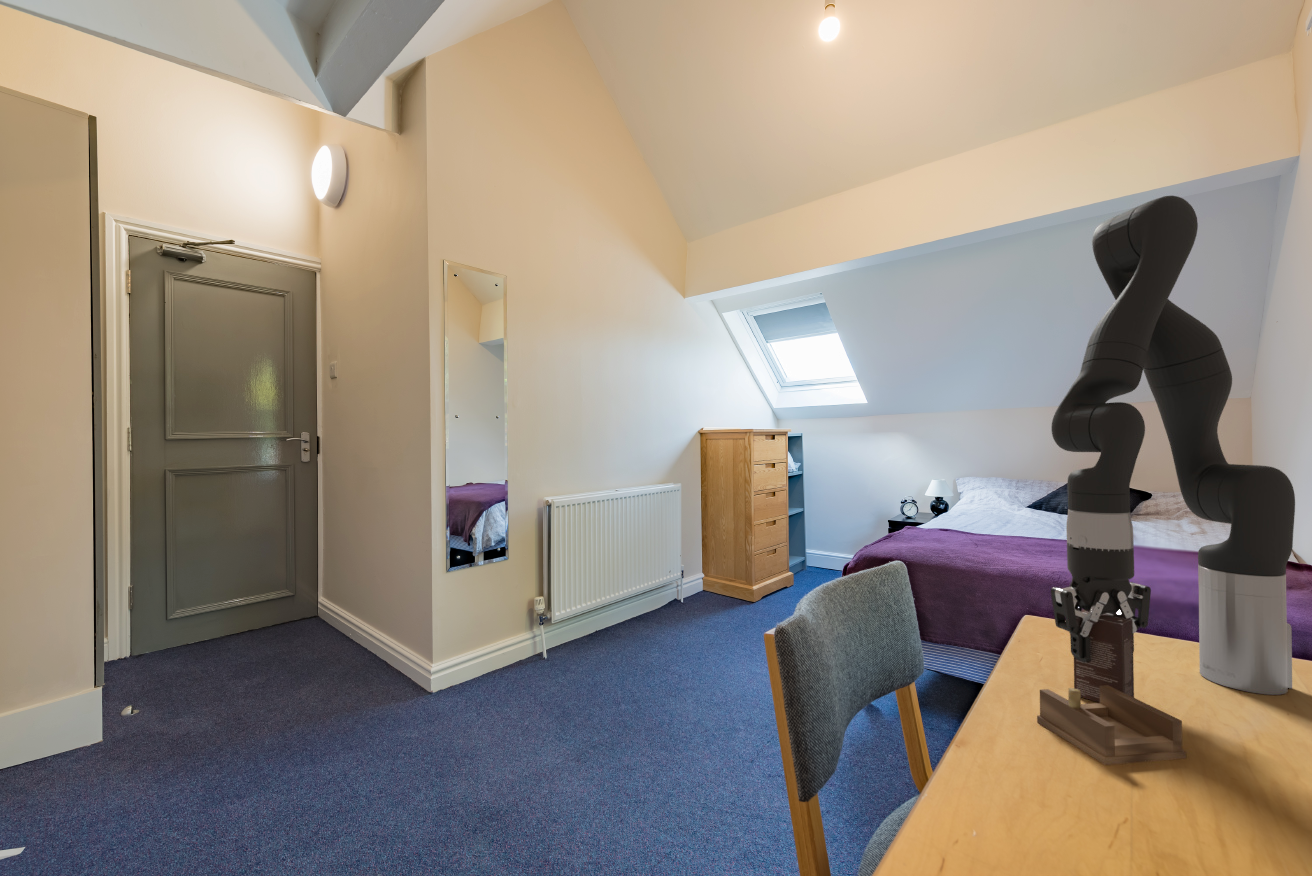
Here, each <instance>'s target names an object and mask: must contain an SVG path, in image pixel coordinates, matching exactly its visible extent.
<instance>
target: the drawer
mask: <svg viewBox="0 0 1312 876" xmlns="http://www.w3.org/2000/svg"><path fill="white" fill-rule="evenodd" d="M1067 691H1068V696H1067V697H1068V699H1067V698H1065V697H1064V696H1062V695H1060V694H1058V693H1056V692H1054V691H1052V690H1050V689H1049V688H1043V689H1039V715H1036V722H1037V724H1039V725H1041V726H1043V727H1044V728H1046V729H1047V730H1049V731H1050V732H1052V733H1054V734H1055V735H1057V736H1058V737H1059V738H1061V739H1063V740H1065V741H1066V742H1067V743H1069V744H1071V745H1072V746H1074V747H1075V748H1077V749H1079V750H1081V751H1083V752H1084V753H1085V754H1087V755H1089V756H1090V757H1092V758H1093V759H1095V760H1097V761H1098V762H1099V763H1101V764H1103V765H1104V766H1108V765H1119V764H1120V765H1121V764H1132V763H1134V764H1135V763H1145V762H1155V761H1170V760H1181V759H1187V751H1186V750H1184V749H1183V721H1182V719H1179V718H1177V717H1175V716H1174V715H1171V714H1169V713H1167V712H1164V711H1162V710H1160V709H1158V708H1156V707H1154V706H1152V705H1150V704H1148V703H1145V702H1144V701H1141V700H1139V699H1138V698H1135V697H1134V698H1133V697H1131V696H1129V695H1127V694H1125V693H1123V692H1121V691H1119V690H1117V689H1114V688H1112V687H1110V686H1108V685H1104V686H1100V703H1099V702H1095V703H1094V702H1093V703H1082V704H1081V702H1082V701H1081V698H1082V697H1081V691H1080V690H1078V689H1075V688H1074V687H1069V688H1068V689H1067Z"/></svg>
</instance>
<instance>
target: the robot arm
mask: <svg viewBox="0 0 1312 876" xmlns="http://www.w3.org/2000/svg"><path fill="white" fill-rule="evenodd" d="M1198 224H1199V223H1198V217H1197V214H1196V211H1195V209H1194V208H1193V206H1192V205H1191V204H1190V203H1189V202H1188V201H1187V200H1186V199H1184V198H1183V197H1180V196H1178V195H1166V196H1165V195H1164V196H1162V197H1159V198H1155V199H1151V200H1149V201H1147V202H1145V203H1142V204H1140V205H1138V206H1136V207H1134V208H1131V209H1128V210H1127V211H1125V212H1122V213H1120V214H1118V215H1116V216H1112V217H1111V218H1109V219H1107V220H1104V221H1103V222H1101V223H1100V224H1099V225H1098V226H1097V227H1096V228H1095V230H1094V232H1093V234H1092V240H1091V243H1092V244H1091V245H1092V253H1093V255H1094V259H1095V261H1096V264H1097V266H1098V268H1099V271H1100V273H1101V274H1102V275H1101V276H1103V279H1104V280H1105V282H1106V284H1107V286H1108V288H1109V290H1110V292H1111V294H1112V296H1113V298H1114V300H1115V301H1114V302H1113V304H1111V306H1110V307H1109V308H1108V310H1106V312H1105V314H1103V316H1102V317H1101V318H1100V320H1099V321H1098V322H1097V325H1095V327H1094V329H1093V331H1092V333H1091V335H1090V336H1089V339H1088V342H1087V346H1086V350H1085V353H1084V356H1083V359H1082V360H1083V361H1082V363H1081V367H1080V372H1079V374H1078V376H1077V377H1076V379H1075V380H1074V382H1073V383H1072V385H1071V386H1070V388H1069V389H1068V391H1067V392H1066V394H1065V396H1064V398H1063V399H1062V400H1061V402H1060V403H1059V405H1058V406H1057V409H1056V410H1055V412H1054V415H1053V416H1052V417H1053V418H1052V420H1051V421H1052V422H1051V435H1052V438H1053V441H1054V442H1055V444H1056V445H1057V446H1058V447H1059V448H1061V449H1062V450H1064V451H1066V452H1070V453H1071V452H1072V453H1100V456H1099V458H1098V459H1097V461H1096V463H1095V465H1094V466H1092V467H1087V468H1082V469H1077V470H1073V471H1071V472H1070V473H1069V474H1068V477H1067V483H1066V484H1067V486H1066V488H1067V508H1068V509H1067V517H1066V525H1065V526H1066V529H1065V530H1066V555H1067V556H1066V557H1067V558H1066V559H1067V562H1066V563H1067V565H1066V566H1067V567H1066V568H1067V571H1068V572H1069V573H1070V575H1071V577H1072V578H1071V581H1070V584H1069V586H1067V587H1062V588H1060V587H1056V586H1054V587H1051V589H1050V596H1051V601H1052V602H1051V604H1052V609H1053V610H1052V611H1053V615H1054V622H1055V626H1056V628H1059V629H1061V630H1064V631H1067V632H1069V636H1070V637H1069V638H1070V653H1071V655H1072V656H1073V659H1074V658H1075V659H1077V660H1079V661H1082V662H1084V663H1085V662H1090V661H1091V651H1090V637H1088V635H1089V632H1090V630H1091V627H1092V625H1093V623H1096V622H1097V621H1098V619H1099V617H1100V615H1103V614H1108V615H1113V616H1118V617H1121V618H1125V619H1132V622H1133V653H1135V640H1134V639H1135V637H1134V634H1135V633H1136V632H1137V631H1138V630H1139V628H1142V629H1146V628H1147V627H1148V625H1149V614H1150V607H1151V606H1150V605H1151V592H1152V589H1151V587H1150V586H1147V585H1144V584H1140V583H1136V582H1132V581H1130V580H1132V579H1133V578H1134V576H1135V547H1134V526H1133V520H1132V516H1131V494H1130V491H1131V490H1130V485H1131V480H1132V477H1133V473H1134V470H1135V466H1136V463H1137V459H1138V456H1139V453H1140V451H1141V448H1142V446H1143V441H1144V438H1145V436H1146V435H1145V434H1146V424H1145V419H1144V418H1143V416H1142V415H1143V414H1142V413H1141V412H1140V410H1139V409H1138V408H1136V406H1134V405H1133V404H1130V403H1128V402H1121V401H1120V402H1119V401H1117V402H1108V401H1110V400H1112V399H1114V398H1116V397H1120V396H1123V395H1127V394H1130V393H1132V392H1133V391H1134V390H1136V389H1137V387H1139V384H1140V382H1141V380H1142V376H1143V373H1144V376H1145V378H1146V381H1147V384H1148V387H1149V389H1150V391H1151V394H1152V396H1153V398H1154V401H1155V403H1156V405H1157V408H1158V411H1159V414H1160V418H1161V420H1162V423H1163V428H1164V429H1165V433H1166V436H1167V439H1168V442H1169V445H1170V451H1171V454H1172V455H1171V456H1172V459H1173V463H1174V467H1175V472H1176V477H1177V481H1178V485H1179V490H1180V492H1181V496H1182V498H1183V502H1184V504H1185V505H1186V507H1188V510H1189V511H1190V512H1192V514H1194V515H1195V516H1196V517H1199V518H1200V519H1203V520H1206V521H1210V522H1215V523H1216V522H1217V523H1222V524H1223V523H1224V524H1230V531H1229V536H1228V538H1227V539H1226V540H1224V541H1222V542H1219V543H1214V544H1208V545H1207V544H1206V545H1204V546H1201V547H1200V548H1199V549H1198V552H1197V565H1198V566H1197V568H1198V569H1197V571H1198V572H1197V573H1198V575H1197V576H1198V581H1197V582H1198V626H1199V627H1198V632H1199V633H1198V636H1199V637H1198V639H1199V645H1198V646H1199V647H1198V648H1199V653H1198V654H1199V656H1198V657H1199V674H1200V675H1201V676H1202V677H1203V678H1205V679H1206V680H1208V681H1210V682H1213V683H1215V684H1218V685H1220V686H1224V687H1227V688H1230V689H1234V690H1237V691H1238V690H1239V691H1241V692H1242V691H1243V692H1247V693H1253V694H1260V695H1268V696H1269V695H1273V696H1276V695H1277V696H1280V695H1285V694H1287V692H1288V691H1289V689H1293V650H1292V647H1293V645H1292V644H1293V643H1292V639H1293V638H1292V626H1291V624H1290V623H1288V622H1287V620H1288V619H1287V618H1288V615H1287V612H1288V611H1287V610H1288V607H1287V575H1286V574H1287V564H1288V561H1289V559H1290V557H1291V556H1292V552H1293V546H1294V545H1293V544H1294V527H1295V515H1296V514H1295V513H1296V497H1295V496H1296V494H1295V491H1294V487H1293V483H1292V482H1291V480H1290V478H1289V477H1288V475H1287V474H1286V473H1285V472H1283V471H1282V470H1281V469H1278V468H1276V467H1274V466H1268V465H1257V464H1238V463H1237V464H1234V463H1233V464H1231V463H1228V461H1227V458H1226V457H1225V455H1224V452H1223V450H1222V446H1221V444H1220V443H1221V442H1220V441H1219V439H1220V438H1219V433H1218V429H1219V422H1220V419H1221V416H1222V413H1223V411H1224V408H1225V407H1226V404H1227V402H1228V399H1229V397H1230V394H1231V390H1232V386H1233V374H1232V370H1231V368H1230V365H1229V362H1228V359H1227V356H1226V354H1225V351H1224V348H1223V346H1222V343H1221V340H1220V339H1219V337H1218V336H1217V334H1216V333H1215V332H1214V331H1213V330H1212V329H1210V328H1209V327H1208V326H1207V325H1206V324H1205V323H1203V322H1202V321H1200V320H1199V319H1197V318H1196V317H1194V316H1193V315H1191V314H1190V313H1188V312H1187V311H1185V310H1184V309H1182V308H1181V307H1179V306H1178V305H1177V304H1175V303H1173V302H1172V301H1171V300H1170V299H1169V297H1170V295H1171V293H1172V291H1173V289H1174V287H1175V285H1176V283H1177V280H1178V279H1179V276H1180V274H1181V273H1182V270H1183V268H1184V266H1185V264H1186V263H1187V260H1188V258H1189V256H1190V254H1191V252H1192V249H1193V247H1194V244H1195V241H1196V239H1197V238H1196V237H1197V236H1198V235H1197V234H1198V227H1199V225H1198ZM1136 609H1137V611H1138V612H1137V616H1136ZM1081 610H1085V611H1087V612H1089V613H1087V614H1086V613H1083V612H1082V611H1081ZM1081 619H1083V621H1082V624H1081V626H1078V625H1079V623H1080V620H1081ZM1288 688H1289V689H1288Z"/></svg>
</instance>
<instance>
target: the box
mask: <svg viewBox="0 0 1312 876" xmlns="http://www.w3.org/2000/svg"><path fill="white" fill-rule="evenodd" d="M1081 611H1082V612H1083V613H1086V614H1087V613H1089V612H1087V611H1085V610H1084V609H1082V610H1081ZM1082 621H1083V619H1081V620H1080V623H1079V625H1078V626H1081V624H1082ZM1088 637H1090V651H1091V661H1090V662H1085V663H1084V662H1082V661H1079V660H1077V659H1075V658H1074V657H1073V688H1075V689H1078V690H1080V691H1081V698H1084V699H1087V700H1090V701H1093V702H1095V703H1100V686H1104V685H1108V686H1110V687H1112V688H1114V689H1117V690H1119V691H1121V692H1123V693H1125V694H1127V695H1129V696H1131V697H1133V698H1135V686H1134V685H1135V684H1134V682H1135V680H1134V679H1135V677H1134V675H1135V674H1134V652H1133V622H1132V619H1125V618H1121V617H1118V616H1113V615H1108V614H1103V615H1100V617H1099V619H1098V621H1097V622H1096V623H1093V625H1092V627H1091V630H1090V632H1089V635H1088Z"/></svg>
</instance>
